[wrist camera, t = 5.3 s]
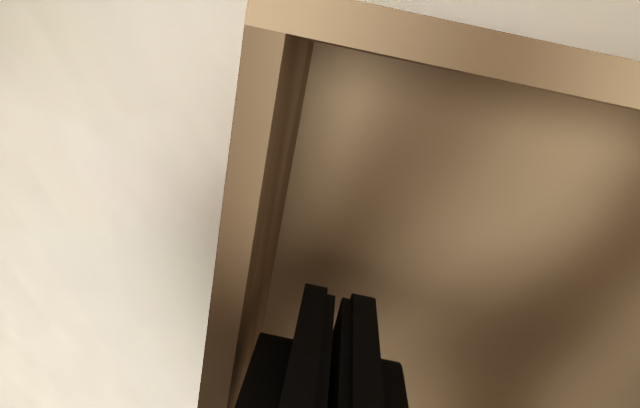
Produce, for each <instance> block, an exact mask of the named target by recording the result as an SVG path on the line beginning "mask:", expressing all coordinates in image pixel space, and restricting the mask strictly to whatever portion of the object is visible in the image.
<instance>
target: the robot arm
mask: <svg viewBox="0 0 640 408" xmlns="http://www.w3.org/2000/svg"><path fill="white" fill-rule="evenodd" d="M327 291H328V288H327V287H322V286H317V285H313V284H308V283H305V287H304V292H303V296H302V301H301V305H300V310H299V315H298V319H297V324H296V328H295V333H294V338H293V339H290V338H285V337H281V336H276V335H272V334H267V333H262V332H260V334H259V336H258V339H257V342H256V345H255V348H254V351H253V354H252V357H251V360H250V363H249V366H248V369H247V372H246V375H245V378H244V380H243V383H242V386H241V389H240V392H239V395H238V398H237V401H236V404H235V407H234V408H409V406H408V399H407V393H406V386H405V380H404V374H403V368H402V365H401V363H400V362H396V361H391V360H387V359H382V358H381V352H380V341H379V330H378V319H377V308H376V299H375V298H373V297H368V296H364V295H359V294H354V293H352V294H351V297H350V299H348V298H343V297H342V299H341V302H340V306H339V310H338V314H337V318H336V322H335V326H334V329H333V323H334V310H335V296H334V295H330V294H327Z"/></svg>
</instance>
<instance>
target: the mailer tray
mask: <svg viewBox="0 0 640 408" xmlns="http://www.w3.org/2000/svg"><path fill="white" fill-rule="evenodd" d="M305 283H308V284H313V285H317V286H322V287H327V288H328V291H327V294H330V295H334V296H335V310H334V323H333V329H334V326H335V322H336V318H337V314H338V310H339V306H340V302H341V299H342V297H343V298H348V299H350V297H351V294H352V293H354V294H359V295H364V296H368V297H373V298H375V299H376V308H377V319H378V330H379V341H380V352H381V358H382V359H387V360H391V361H396V362H400V363H401V365H402V368H403V374H404V380H405V386H406V393H407V399H408V406H409V408H640V61H635V60H631V59H626V58H621V57H617V56H612V55H607V54H603V53H598V52H593V51H589V50H584V49H579V48H575V47H570V46H565V45H561V44H556V43H551V42H547V41H542V40H537V39H533V38H528V37H523V36H519V35H514V34H509V33H505V32H500V31H496V30H491V29H486V28H482V27H477V26H472V25H468V24H463V23H458V22H454V21H449V20H444V19H440V18H435V17H430V16H426V15H421V14H416V13H412V12H407V11H402V10H398V9H393V8H388V7H384V6H379V5H374V4H370V3H365V2H360V1H356V0H248V1H247V9H246V17H245V25H244V33H243V41H242V49H241V58H240V66H239V74H238V82H237V90H236V98H235V107H234V115H233V123H232V131H231V139H230V147H229V155H228V164H227V172H226V180H225V188H224V196H223V204H222V212H221V221H220V229H219V237H218V245H217V253H216V261H215V269H214V278H213V286H212V294H211V302H210V310H209V318H208V326H207V335H206V343H205V351H204V359H203V367H202V375H201V383H200V392H199V400H198V408H234V407H235V404H236V401H237V398H238V395H239V392H240V389H241V386H242V383H243V380H244V378H245V375H246V372H247V369H248V366H249V363H250V360H251V357H252V354H253V351H254V348H255V345H256V342H257V339H258V336H259V334H260V332H262V333H267V334H272V335H276V336H281V337H285V338H290V339H293V338H294V333H295V328H296V324H297V319H298V315H299V310H300V305H301V301H302V296H303V292H304V287H305Z"/></svg>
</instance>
